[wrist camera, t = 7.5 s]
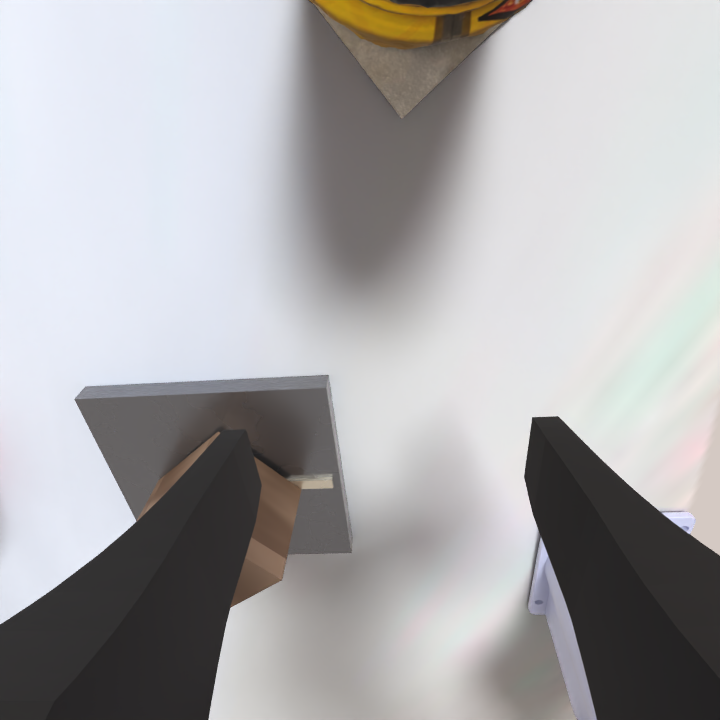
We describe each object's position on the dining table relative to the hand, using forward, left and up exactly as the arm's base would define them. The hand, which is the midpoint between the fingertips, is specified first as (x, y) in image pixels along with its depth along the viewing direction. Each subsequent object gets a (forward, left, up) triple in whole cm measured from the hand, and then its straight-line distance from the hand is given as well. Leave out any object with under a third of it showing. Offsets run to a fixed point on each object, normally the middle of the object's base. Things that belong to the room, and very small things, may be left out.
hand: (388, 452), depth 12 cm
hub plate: (-10, +9, -9) cm, 16 cm away
